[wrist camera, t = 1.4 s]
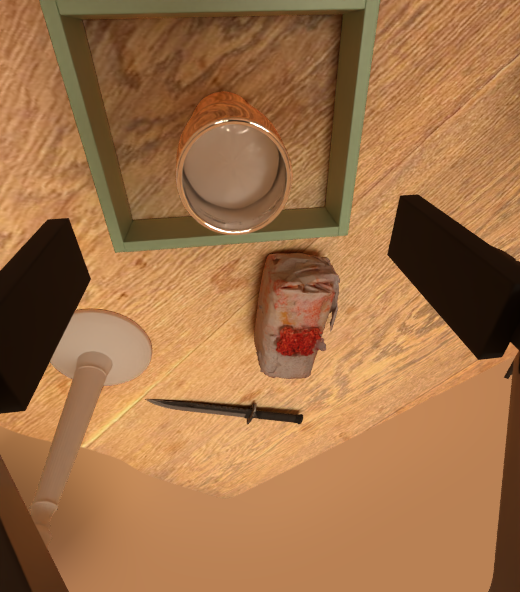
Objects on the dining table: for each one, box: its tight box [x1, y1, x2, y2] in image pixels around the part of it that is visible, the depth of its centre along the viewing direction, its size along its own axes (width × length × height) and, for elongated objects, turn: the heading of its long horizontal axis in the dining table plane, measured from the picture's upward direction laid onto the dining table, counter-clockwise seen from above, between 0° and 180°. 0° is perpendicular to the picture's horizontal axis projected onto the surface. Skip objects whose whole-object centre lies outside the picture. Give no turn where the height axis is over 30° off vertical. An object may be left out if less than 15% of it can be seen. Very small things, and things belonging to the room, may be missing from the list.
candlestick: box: [30, 309, 152, 547], centre depth 33 cm, size 13×13×30 cm
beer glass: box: [176, 91, 293, 235], centre depth 26 cm, size 7×7×15 cm
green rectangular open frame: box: [39, 0, 380, 253], centre depth 30 cm, size 18×22×5 cm
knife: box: [145, 399, 303, 424], centre depth 54 cm, size 25×2×5 cm
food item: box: [254, 253, 340, 379], centre depth 39 cm, size 14×8×10 cm, turn 174°
